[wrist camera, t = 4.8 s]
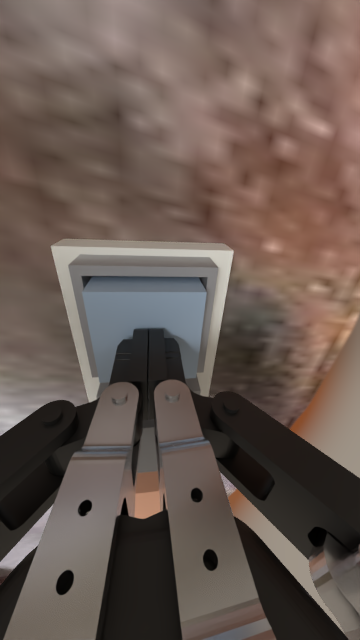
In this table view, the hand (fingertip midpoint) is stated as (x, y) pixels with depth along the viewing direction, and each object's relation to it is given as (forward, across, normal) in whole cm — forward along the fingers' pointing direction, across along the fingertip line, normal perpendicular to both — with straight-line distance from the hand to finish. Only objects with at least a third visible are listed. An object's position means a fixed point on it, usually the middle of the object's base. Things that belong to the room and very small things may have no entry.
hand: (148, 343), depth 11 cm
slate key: (+2, 0, 0) cm, 2 cm away
